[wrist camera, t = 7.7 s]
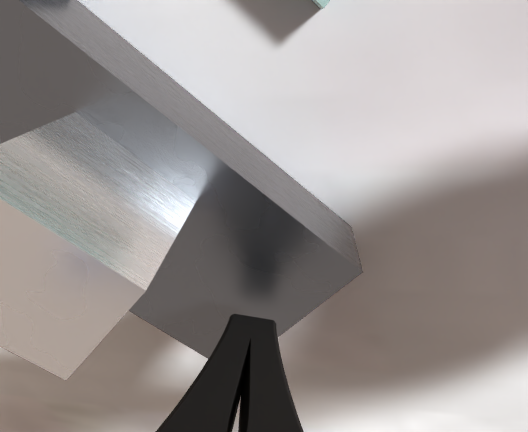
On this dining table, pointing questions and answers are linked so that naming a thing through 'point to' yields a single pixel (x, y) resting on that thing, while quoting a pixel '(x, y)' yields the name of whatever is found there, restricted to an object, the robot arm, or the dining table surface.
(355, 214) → the dining table surface
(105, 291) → the block
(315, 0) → the mint green square slab
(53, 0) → the grey sliding box
